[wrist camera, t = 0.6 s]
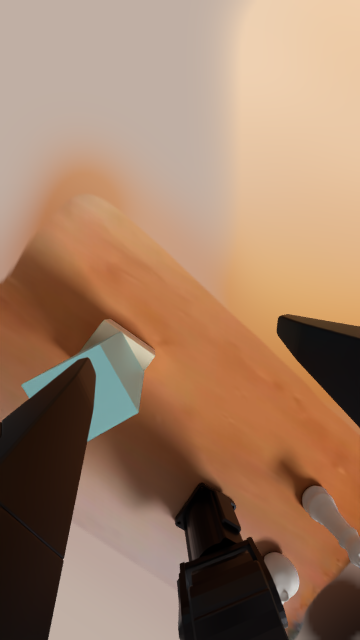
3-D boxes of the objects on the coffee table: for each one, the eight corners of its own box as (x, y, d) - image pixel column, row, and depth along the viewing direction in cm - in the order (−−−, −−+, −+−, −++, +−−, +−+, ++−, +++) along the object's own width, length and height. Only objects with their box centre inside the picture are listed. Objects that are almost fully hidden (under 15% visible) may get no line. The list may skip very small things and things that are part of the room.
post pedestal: (122, 393, 26) (111, 423, 19) (76, 363, 25) (46, 383, 18) (154, 350, 26) (155, 363, 19) (110, 318, 25) (94, 321, 18)
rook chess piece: (295, 505, 30) (346, 575, 22) (308, 479, 30) (363, 539, 22) (318, 514, 31) (375, 586, 23) (330, 488, 31) (392, 550, 23)
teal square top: (144, 372, 22) (138, 412, 13) (100, 396, 22) (64, 454, 13) (121, 331, 22) (99, 344, 13) (76, 354, 21) (21, 384, 12)
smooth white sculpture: (267, 532, 31) (296, 558, 30) (237, 577, 30) (266, 605, 29) (277, 561, 27) (311, 592, 26) (243, 614, 26) (277, 648, 25)
